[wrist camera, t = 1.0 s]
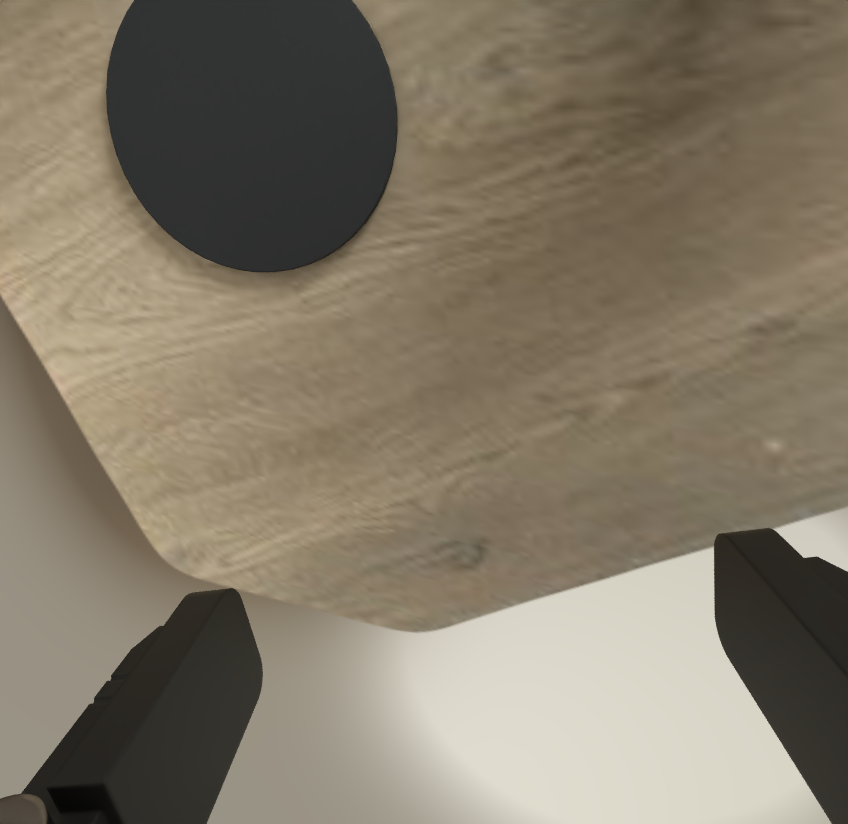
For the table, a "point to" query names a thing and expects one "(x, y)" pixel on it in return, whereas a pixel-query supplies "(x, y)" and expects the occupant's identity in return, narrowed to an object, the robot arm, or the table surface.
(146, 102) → the mat
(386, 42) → the table surface
